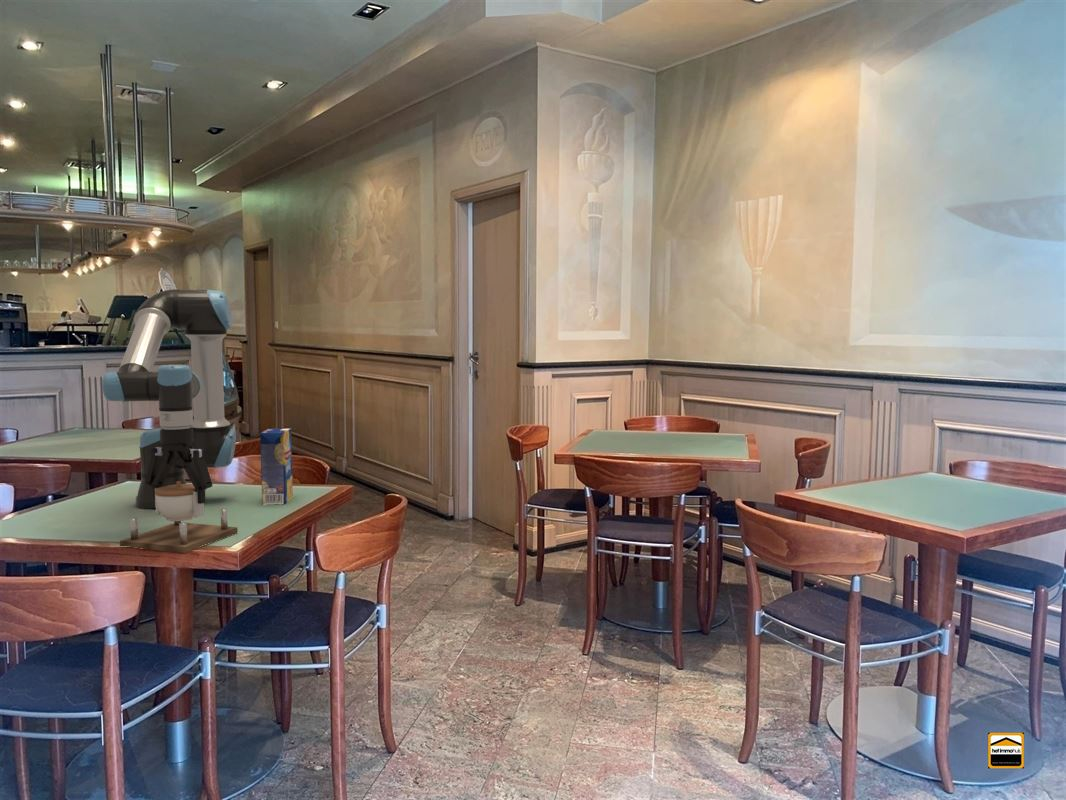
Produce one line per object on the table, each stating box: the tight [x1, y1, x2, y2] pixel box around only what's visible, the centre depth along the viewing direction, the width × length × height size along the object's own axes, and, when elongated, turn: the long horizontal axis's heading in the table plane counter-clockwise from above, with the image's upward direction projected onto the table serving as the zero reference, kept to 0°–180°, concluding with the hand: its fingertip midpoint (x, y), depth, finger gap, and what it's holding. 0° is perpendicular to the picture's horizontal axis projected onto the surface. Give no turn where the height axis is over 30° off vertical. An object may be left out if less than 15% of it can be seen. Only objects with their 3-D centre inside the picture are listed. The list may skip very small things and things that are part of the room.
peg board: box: [119, 521, 239, 554], centre depth 189 cm, size 19×19×2 cm
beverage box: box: [259, 428, 294, 506], centre depth 232 cm, size 7×11×22 cm, turn 6°
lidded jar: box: [155, 481, 195, 522], centre depth 188 cm, size 11×11×9 cm
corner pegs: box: [129, 508, 229, 545], centre depth 188 cm, size 16×16×5 cm
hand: (179, 514), depth 188 cm, fingers closed on lidded jar, 11 cm apart
